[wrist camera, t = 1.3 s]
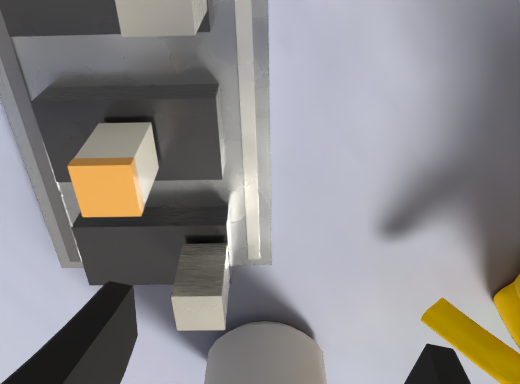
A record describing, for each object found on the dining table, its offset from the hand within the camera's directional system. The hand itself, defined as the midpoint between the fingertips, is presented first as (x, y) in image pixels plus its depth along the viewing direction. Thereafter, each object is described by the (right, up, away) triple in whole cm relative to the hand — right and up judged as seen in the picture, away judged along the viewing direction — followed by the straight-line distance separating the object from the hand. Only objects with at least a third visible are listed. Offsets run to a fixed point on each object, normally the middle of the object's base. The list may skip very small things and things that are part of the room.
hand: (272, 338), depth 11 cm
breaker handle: (-5, +5, +7) cm, 10 cm away
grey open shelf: (-5, +7, +9) cm, 13 cm away
